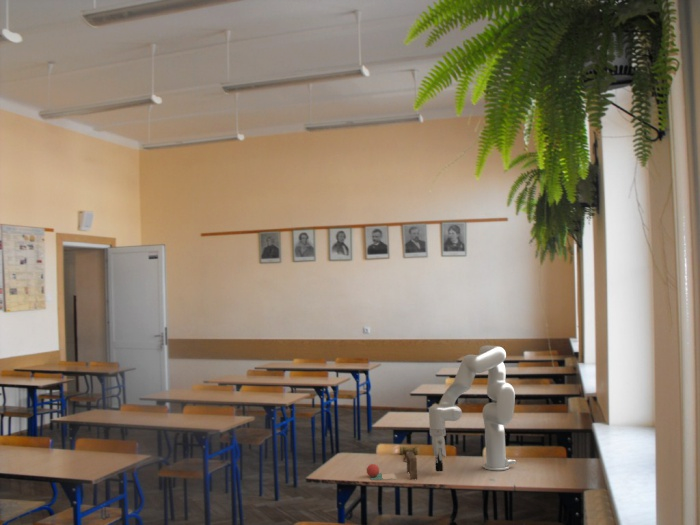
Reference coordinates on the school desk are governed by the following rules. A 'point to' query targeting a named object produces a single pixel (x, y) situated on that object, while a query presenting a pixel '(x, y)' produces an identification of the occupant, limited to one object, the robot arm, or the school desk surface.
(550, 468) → the school desk surface
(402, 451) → the gavel
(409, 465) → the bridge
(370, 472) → the ball
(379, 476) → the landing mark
